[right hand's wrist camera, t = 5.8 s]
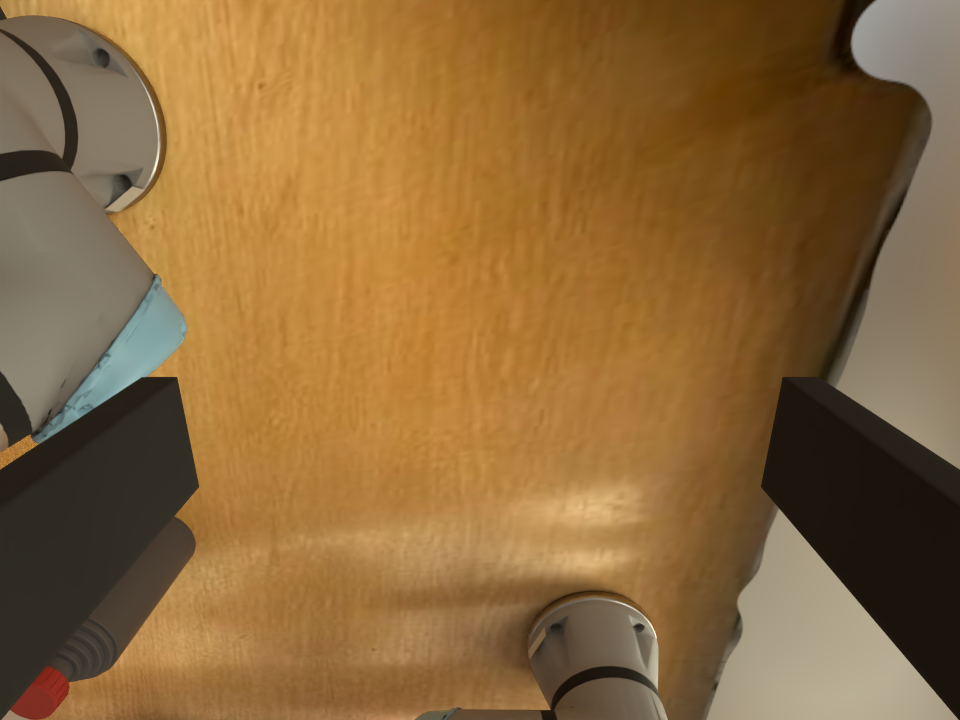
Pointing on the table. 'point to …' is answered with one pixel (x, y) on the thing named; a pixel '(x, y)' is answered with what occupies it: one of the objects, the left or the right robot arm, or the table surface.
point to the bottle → (126, 606)
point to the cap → (42, 695)
